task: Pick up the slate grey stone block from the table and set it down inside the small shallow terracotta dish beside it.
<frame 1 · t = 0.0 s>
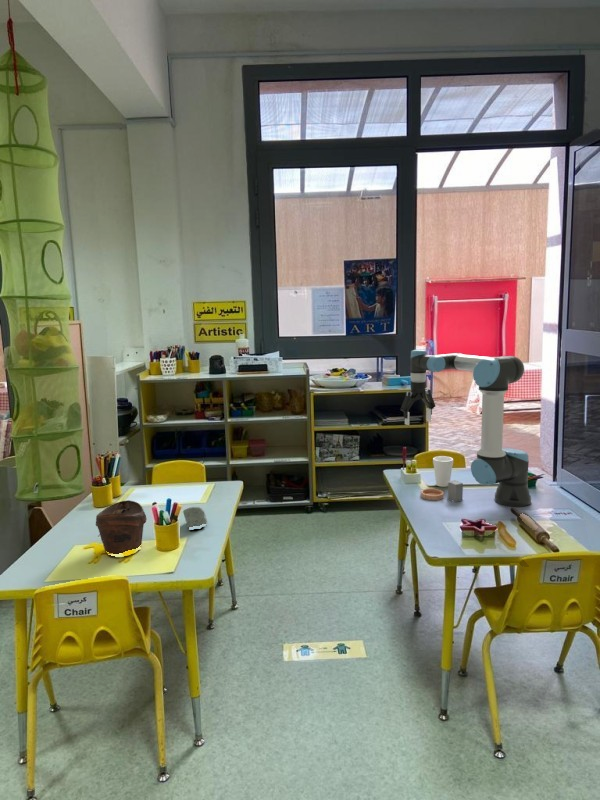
hand: (418, 423, 279), 28 cm above the table, tool pointing down, fingers open, 13 cm apart
decorative stone: (196, 526, 229), on the table
foam cup: (442, 484, 271), on the table
stone block: (455, 499, 251), on the table
chocolate muffin: (123, 550, 209), on the table
terracotta dish: (432, 496, 255), on the table
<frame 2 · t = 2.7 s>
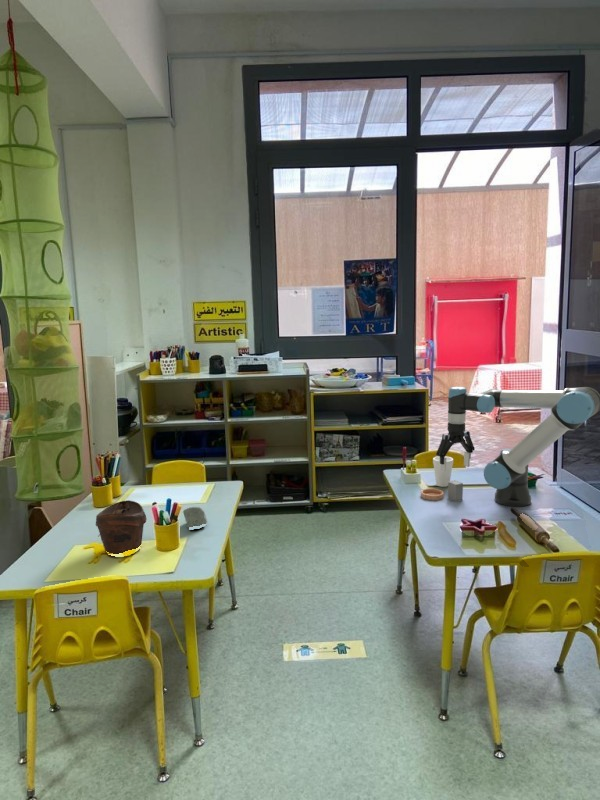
hand: (455, 468, 248), 14 cm above the table, tool pointing down, fingers open, 13 cm apart
nothing on the table moved.
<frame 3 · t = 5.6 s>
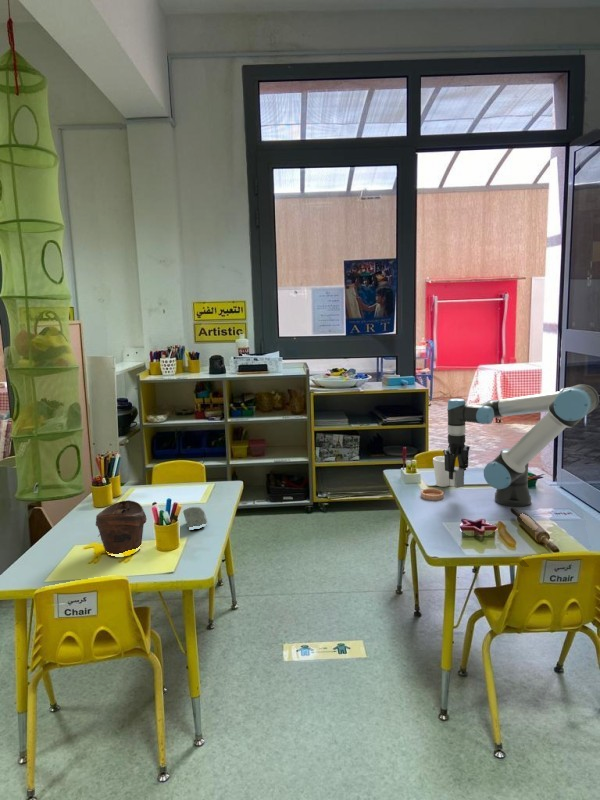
hand: (456, 484, 249), 7 cm above the table, tool pointing down, fingers closed on stone block, 4 cm apart
stone block: (456, 485, 249), point 7 cm above the table, touching gripper
everything else where it was.
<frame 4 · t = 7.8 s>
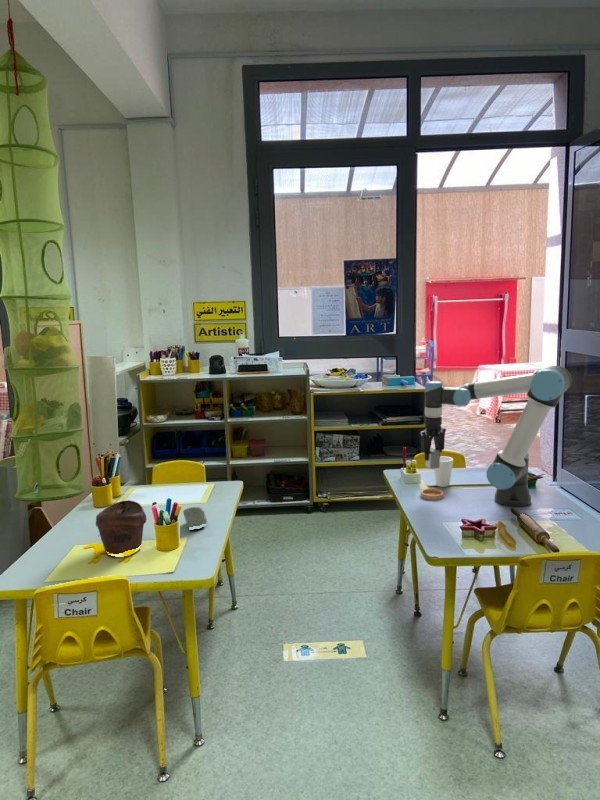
hand: (432, 466, 253), 14 cm above the table, tool pointing down, fingers closed on stone block, 4 cm apart
stone block: (432, 466, 253), point 14 cm above the table, touching gripper
everything else where it was.
when the fingers open (3 cm above the table, at t = 10.0 s): stone block drops 2 cm, resting on terracotta dish.
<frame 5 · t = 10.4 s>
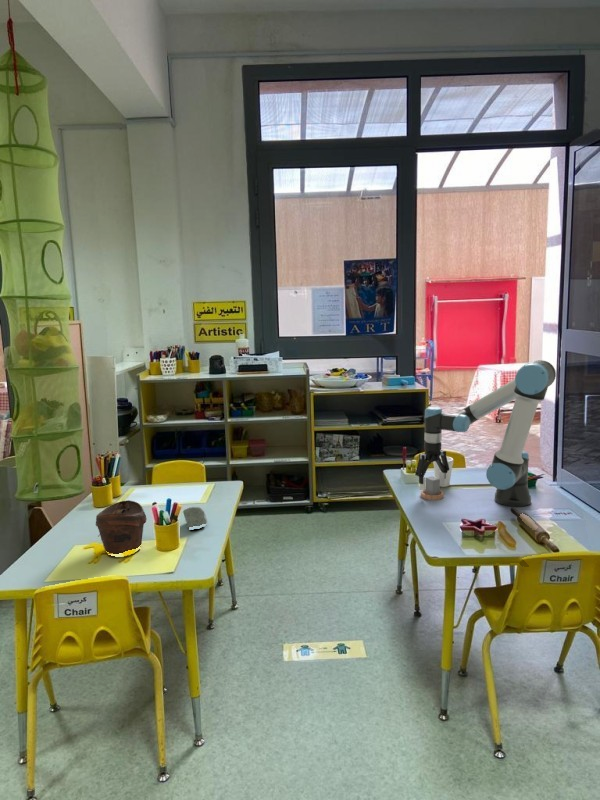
hand: (432, 488, 255), 4 cm above the table, tool pointing down, fingers open, 10 cm apart
stone block: (432, 495, 255), resting on terracotta dish
everything else where it was.
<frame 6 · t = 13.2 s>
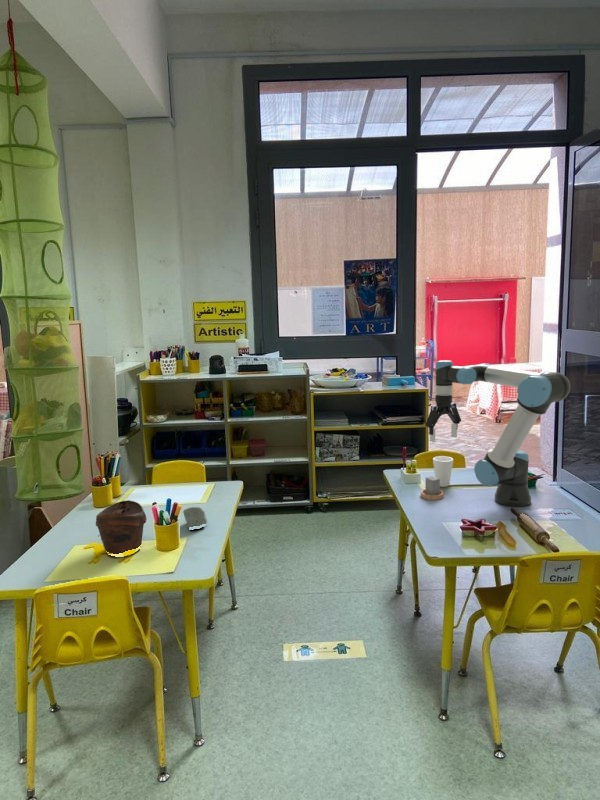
hand: (443, 439, 259), 25 cm above the table, tool pointing down, fingers open, 13 cm apart
nothing on the table moved.
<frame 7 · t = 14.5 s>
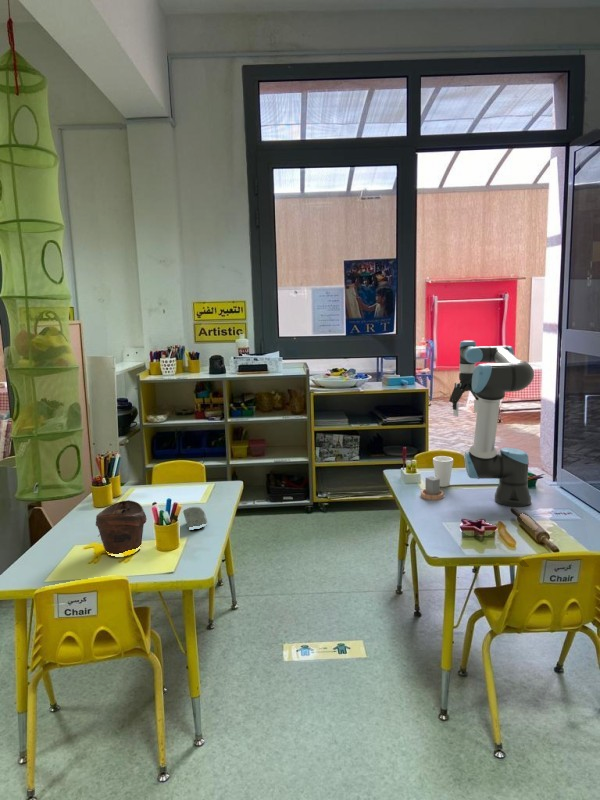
hand: (466, 414, 278), 32 cm above the table, tool pointing down, fingers open, 13 cm apart
nothing on the table moved.
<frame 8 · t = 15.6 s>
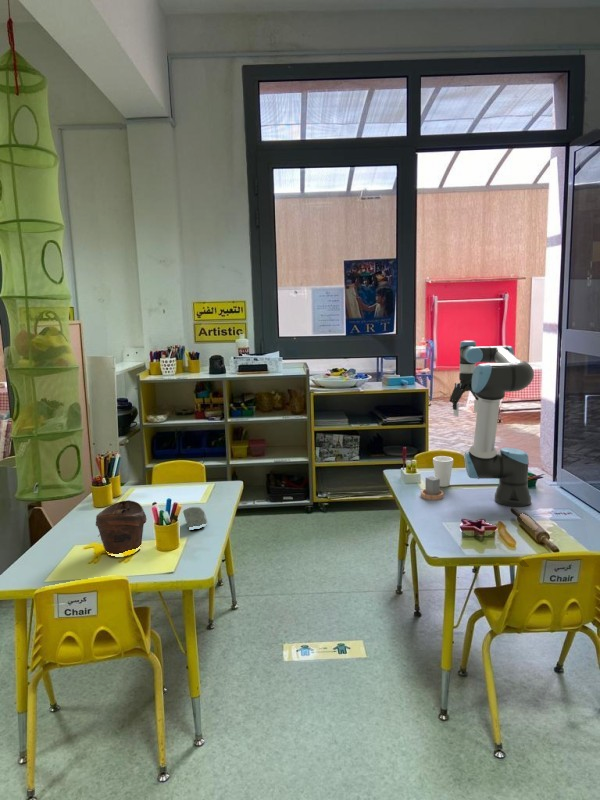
hand: (466, 414, 278), 32 cm above the table, tool pointing down, fingers open, 13 cm apart
nothing on the table moved.
at the end: stone block 0.1 cm off-centre on the terracotta dish, point 0.5 cm above the terracotta dish's base; the gripper is holding nothing; stone block moved 10.4 cm from its start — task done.
